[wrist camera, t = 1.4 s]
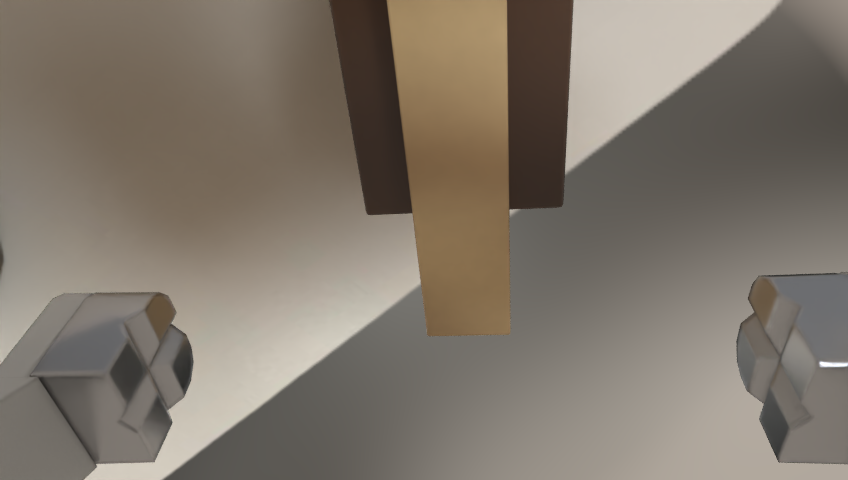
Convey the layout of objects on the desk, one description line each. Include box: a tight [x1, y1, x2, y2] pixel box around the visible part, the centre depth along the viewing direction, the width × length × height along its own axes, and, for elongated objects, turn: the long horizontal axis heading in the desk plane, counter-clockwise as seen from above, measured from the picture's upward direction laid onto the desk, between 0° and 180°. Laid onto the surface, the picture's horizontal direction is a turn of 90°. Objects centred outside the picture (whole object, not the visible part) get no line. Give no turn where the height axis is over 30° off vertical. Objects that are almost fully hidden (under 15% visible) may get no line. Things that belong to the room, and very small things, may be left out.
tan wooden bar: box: [387, 0, 510, 336], centre depth 14 cm, size 12×2×1 cm, turn 5°
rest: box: [329, 0, 573, 215], centre depth 19 cm, size 6×5×12 cm
